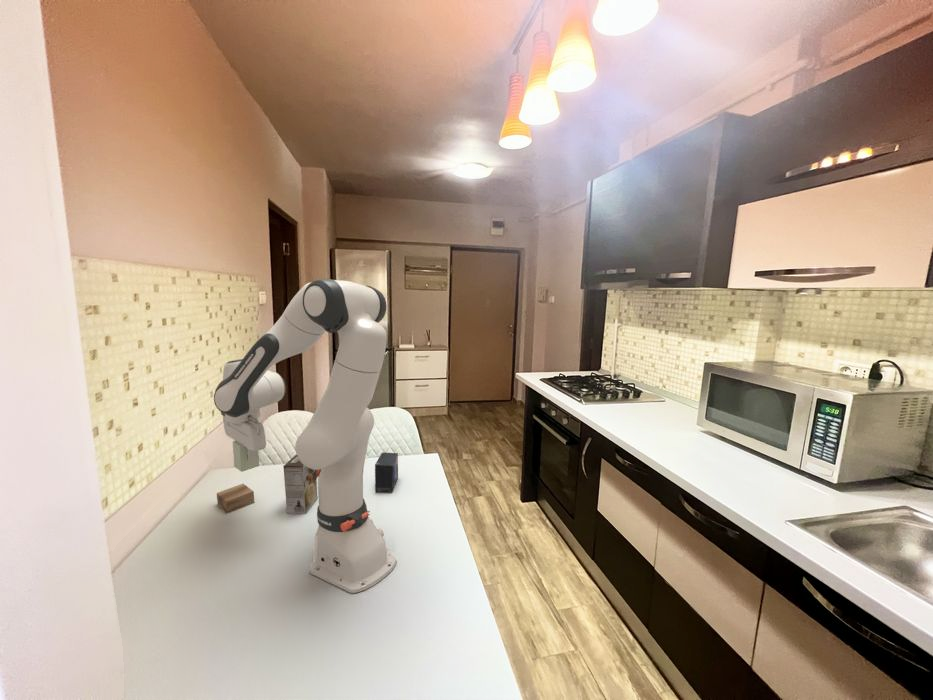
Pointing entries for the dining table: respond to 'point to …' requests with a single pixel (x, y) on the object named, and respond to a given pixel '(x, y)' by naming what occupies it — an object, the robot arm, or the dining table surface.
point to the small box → (386, 472)
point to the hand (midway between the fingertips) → (246, 456)
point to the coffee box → (299, 486)
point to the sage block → (243, 458)
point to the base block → (235, 498)
